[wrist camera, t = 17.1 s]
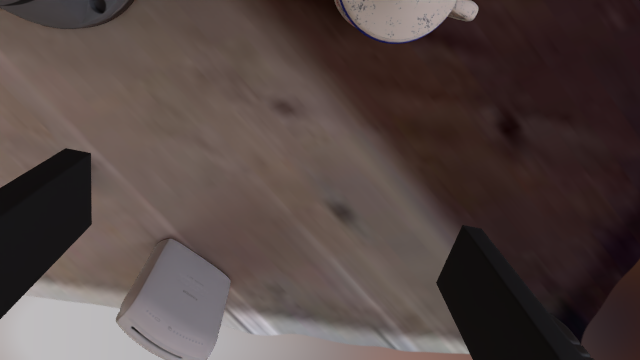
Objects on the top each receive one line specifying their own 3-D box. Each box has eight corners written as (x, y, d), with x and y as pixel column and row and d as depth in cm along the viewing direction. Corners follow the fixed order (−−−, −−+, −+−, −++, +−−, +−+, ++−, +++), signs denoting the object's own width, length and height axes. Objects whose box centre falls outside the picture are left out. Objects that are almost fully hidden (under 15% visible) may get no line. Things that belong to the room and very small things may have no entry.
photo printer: (237, 279, 47) (217, 364, 36) (216, 298, 49) (189, 386, 37) (169, 230, 44) (124, 307, 33) (147, 252, 45) (96, 334, 34)
